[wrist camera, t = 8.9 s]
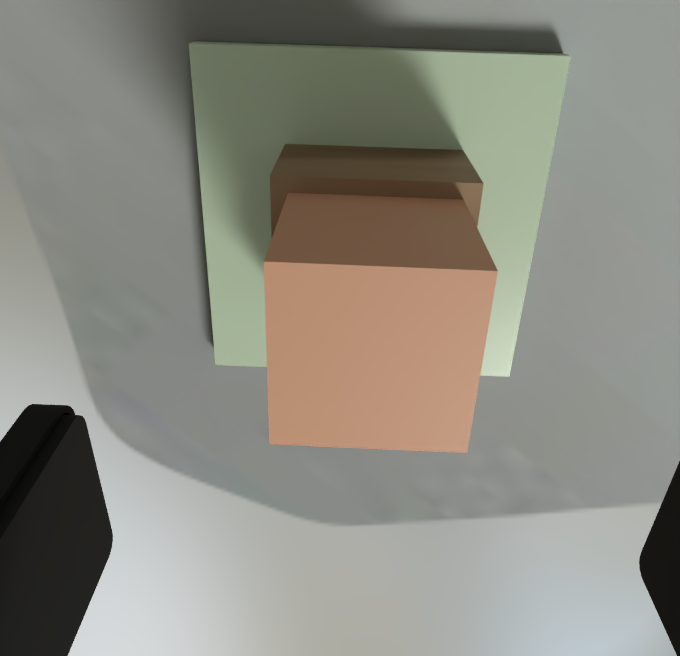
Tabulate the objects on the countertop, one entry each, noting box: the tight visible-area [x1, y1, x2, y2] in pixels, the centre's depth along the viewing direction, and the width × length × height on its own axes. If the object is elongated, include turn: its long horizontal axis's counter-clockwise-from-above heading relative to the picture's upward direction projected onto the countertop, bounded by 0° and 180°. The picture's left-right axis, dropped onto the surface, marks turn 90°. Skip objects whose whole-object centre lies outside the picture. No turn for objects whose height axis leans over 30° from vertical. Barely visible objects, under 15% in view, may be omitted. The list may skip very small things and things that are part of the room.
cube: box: [264, 193, 498, 453], centre depth 17 cm, size 5×5×5 cm
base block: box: [270, 144, 484, 237], centre depth 20 cm, size 6×6×4 cm
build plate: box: [189, 41, 571, 377], centre depth 23 cm, size 12×12×1 cm
